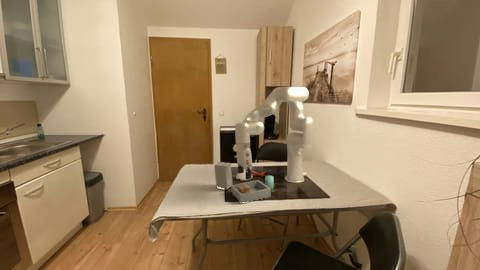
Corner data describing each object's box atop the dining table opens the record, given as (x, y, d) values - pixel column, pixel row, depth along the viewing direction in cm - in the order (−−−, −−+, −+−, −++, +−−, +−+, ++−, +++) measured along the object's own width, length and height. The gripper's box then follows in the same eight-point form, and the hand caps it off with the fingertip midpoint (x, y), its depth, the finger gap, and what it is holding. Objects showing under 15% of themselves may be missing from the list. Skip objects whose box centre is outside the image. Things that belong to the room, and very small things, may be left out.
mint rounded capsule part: (270, 185, 132) (270, 175, 131) (275, 188, 127) (275, 177, 126) (263, 187, 130) (263, 176, 129) (267, 190, 125) (267, 179, 124)
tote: (258, 187, 129) (258, 180, 128) (270, 197, 116) (270, 188, 115) (230, 193, 122) (230, 185, 121) (240, 204, 109) (240, 195, 108)
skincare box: (233, 187, 130) (232, 162, 128) (226, 192, 124) (225, 166, 122) (221, 185, 135) (220, 161, 132) (215, 189, 129) (213, 164, 126)
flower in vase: (252, 176, 149) (252, 141, 145) (252, 182, 138) (251, 144, 134) (234, 175, 151) (233, 141, 147) (232, 181, 139) (231, 144, 135)
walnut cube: (246, 192, 121) (245, 184, 120) (250, 196, 116) (249, 187, 115) (238, 194, 119) (237, 185, 118) (241, 197, 114) (241, 189, 113)
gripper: (257, 147, 106) (258, 179, 110) (242, 141, 122) (244, 169, 125) (243, 150, 104) (245, 182, 107) (230, 143, 119) (232, 172, 122)
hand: (244, 175), depth 116 cm, fingers open, 9 cm apart
